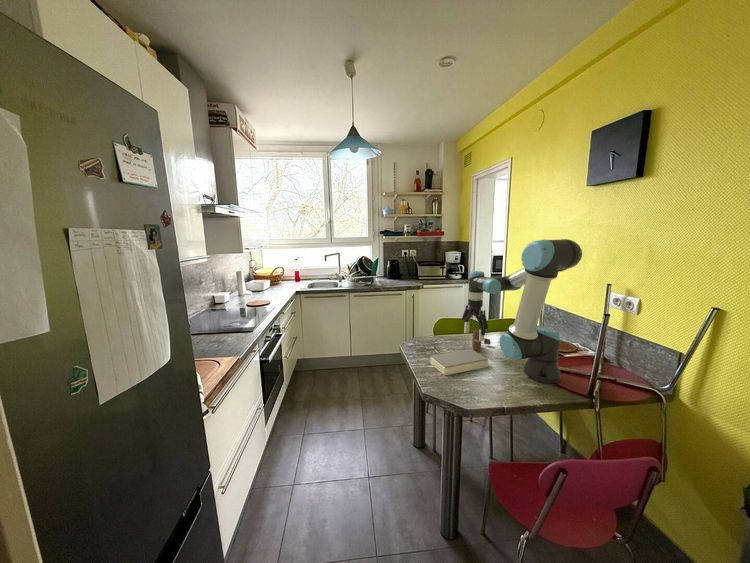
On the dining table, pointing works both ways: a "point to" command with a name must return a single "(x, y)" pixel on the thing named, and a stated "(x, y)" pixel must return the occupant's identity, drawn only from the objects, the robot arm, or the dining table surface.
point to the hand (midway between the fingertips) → (473, 336)
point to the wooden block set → (476, 343)
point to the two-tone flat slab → (458, 361)
